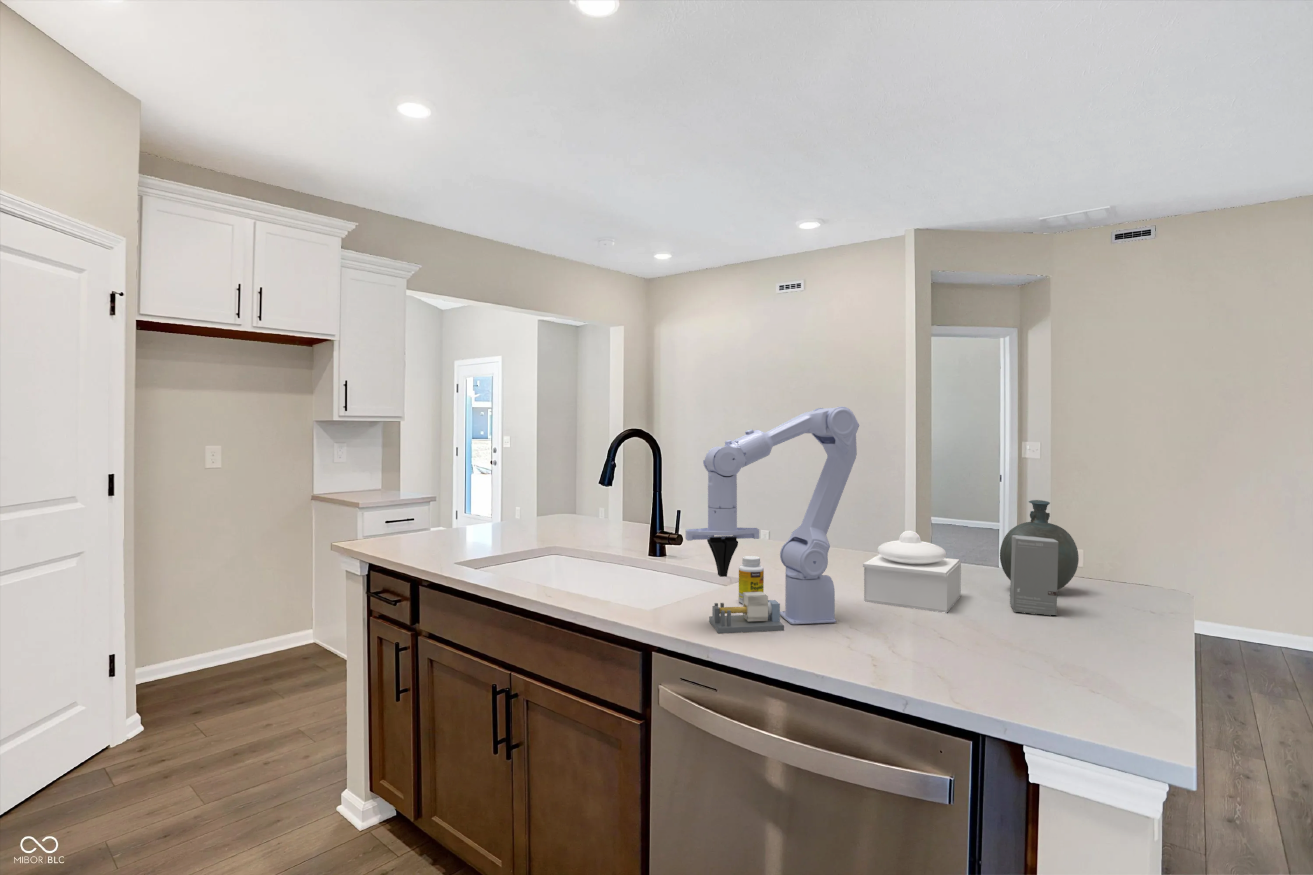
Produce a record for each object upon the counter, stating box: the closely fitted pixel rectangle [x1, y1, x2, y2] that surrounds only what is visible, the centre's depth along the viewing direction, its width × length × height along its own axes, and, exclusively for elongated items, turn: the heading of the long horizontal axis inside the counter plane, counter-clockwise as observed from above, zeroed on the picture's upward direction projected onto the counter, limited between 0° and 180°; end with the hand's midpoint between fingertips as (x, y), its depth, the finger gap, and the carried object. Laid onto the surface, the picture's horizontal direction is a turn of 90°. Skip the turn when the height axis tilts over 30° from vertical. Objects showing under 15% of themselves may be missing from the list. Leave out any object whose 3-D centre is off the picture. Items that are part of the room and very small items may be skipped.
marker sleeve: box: [742, 591, 769, 621], centre depth 129 cm, size 4×4×5 cm
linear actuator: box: [708, 599, 785, 634], centre depth 129 cm, size 13×8×4 cm, turn 98°
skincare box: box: [1009, 535, 1059, 616], centre depth 140 cm, size 8×7×16 cm
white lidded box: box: [862, 529, 962, 614], centre depth 150 cm, size 18×18×16 cm
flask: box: [999, 499, 1079, 591], centre depth 156 cm, size 12×17×22 cm
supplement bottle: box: [738, 555, 765, 605], centre depth 147 cm, size 6×6×10 cm
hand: (722, 575), depth 129 cm, fingers closed
